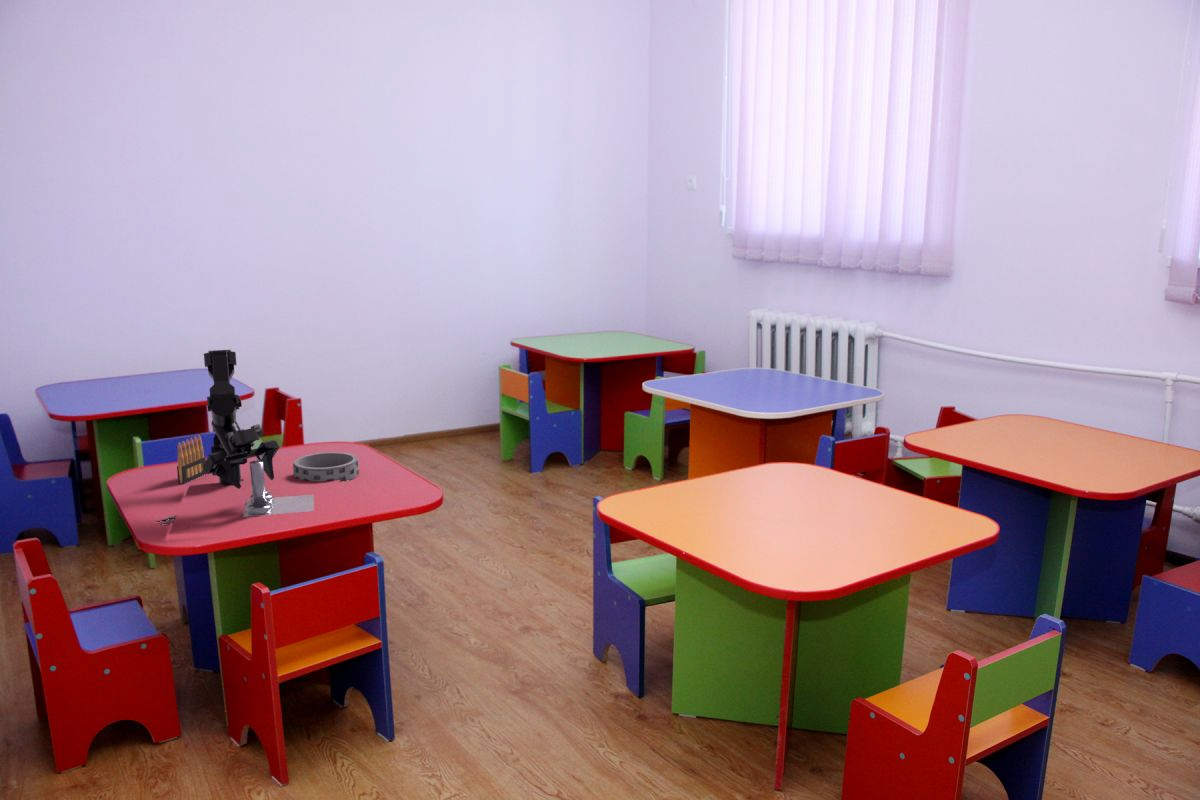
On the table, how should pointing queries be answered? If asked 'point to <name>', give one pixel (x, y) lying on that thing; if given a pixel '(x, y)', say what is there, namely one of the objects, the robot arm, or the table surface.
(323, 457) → the ring
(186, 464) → the ammunition clip
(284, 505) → the plate
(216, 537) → the table surface
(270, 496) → the grey metal knob
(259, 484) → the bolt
